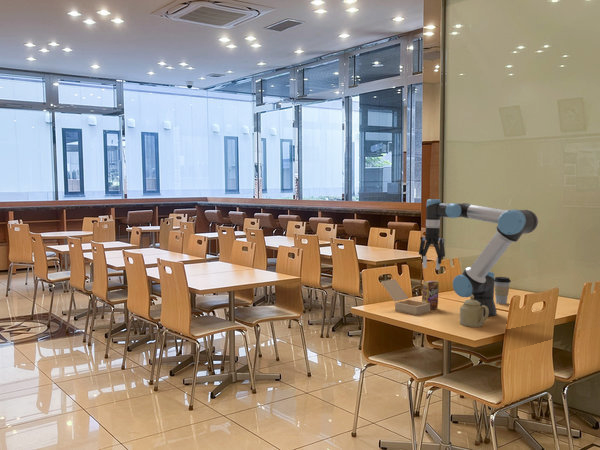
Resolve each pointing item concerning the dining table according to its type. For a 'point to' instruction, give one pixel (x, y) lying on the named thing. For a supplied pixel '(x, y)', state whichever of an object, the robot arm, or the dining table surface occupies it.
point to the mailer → (412, 307)
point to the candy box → (430, 293)
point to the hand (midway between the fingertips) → (431, 268)
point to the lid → (394, 290)
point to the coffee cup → (501, 289)
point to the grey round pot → (472, 313)
